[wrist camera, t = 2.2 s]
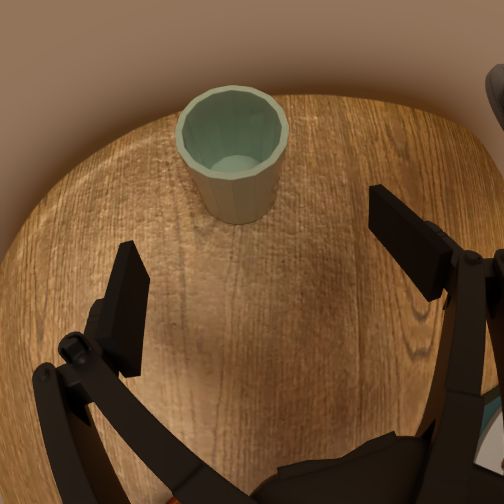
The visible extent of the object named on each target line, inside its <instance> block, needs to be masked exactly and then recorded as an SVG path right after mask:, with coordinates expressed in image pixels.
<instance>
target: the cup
mask: <svg viewBox="0 0 504 504" xmlns="http://www.w3.org/2000/svg"><path fill="white" fill-rule="evenodd" d="M288 133H289V124H288V122H287V119H286V116H285V113H284V110H283V109H282V108H281V107H280V106H279V104H278V103H277V102H276V101H275V100H274V99H273V98H272V97H271V96H269V95H267V94H265V93H263V92H261V91H259V90H257V89H254V88H251V87H244V86H235V85H231V86H230V85H229V86H224V87H219V88H214V89H211V90H209V91H207V92H205V93H203V94H202V95H200V96H198V97H196V98H194V99H193V100H192V101H191V102H190V103H189V105H188V106H187V107H186V108H185V109H184V110H183V112H182V113H181V114H180V116H179V120H178V123H177V126H176V129H175V139H176V146H177V151H178V153H179V155H180V157H181V159H182V161H183V164H184V166H185V168H186V170H187V172H188V174H189V176H190V178H191V181H192V183H193V185H194V187H195V189H196V191H197V193H198V195H199V197H200V199H201V202H202V203H203V204H204V206H205V208H206V209H207V210H208V212H209V213H210V214H211V215H212V216H214V217H215V218H217V219H218V220H220V221H223V222H225V223H229V224H246V223H250V222H253V221H255V220H257V219H259V218H261V217H262V216H263V215H264V214H266V212H267V211H268V210H269V209H270V208H271V206H272V204H273V203H274V200H275V199H276V195H277V190H278V185H279V180H280V176H281V171H282V166H283V161H284V157H285V152H286V147H287V141H288Z"/></svg>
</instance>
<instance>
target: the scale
mask: <svg viewBox="0 0 504 504" xmlns="http://www.w3.org/2000/svg"><path fill="white" fill-rule="evenodd" d="M482 397H484V399H485V406H484V413H483V419H482V425H481V430H480V435H479V440H478V445H477V450H476V454H475V458H474V463H476V464H478V465H480V466H483V467H485V468H487V469H490V470H492V471H494V472H497V473H499V474H501V475H503V473H504V471H503V470H502V468H501V462H502V460H503V459H504V428H503V416H502V406H501V397H500V389H499V385H498V386H497V387H495V388H494V389H492V390H491V391H489V392H487V393H486V394H484V395H483V396H482Z"/></svg>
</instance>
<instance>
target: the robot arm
mask: <svg viewBox="0 0 504 504" xmlns="http://www.w3.org/2000/svg"><path fill="white" fill-rule="evenodd" d="M368 228H369V229H370V231H371V232H372V233H373V234H374V235H375V236H376V238H377V239H378V240H379V241H380V242H381V243H382V245H383V246H384V247H385V248H386V249H387V251H388V252H389V253H390V254H391V255H392V257H393V258H394V259H395V260H396V262H397V263H398V264H399V265H400V266H401V268H402V269H403V270H404V271H405V273H406V274H407V275H408V277H409V278H410V279H411V280H412V282H413V283H414V284H415V285H416V287H417V288H418V289H419V291H420V292H421V293H422V295H423V296H424V297H425V299H426V300H427V301H428V302H430V301H433V300H435V299H438V298H440V297H441V295H442V291H443V288H444V289H445V290H446V291H447V292H448V294H447V298H446V301H445V304H444V307H443V309H442V310H445V312H444V320H443V327H442V333H441V339H440V345H439V351H438V356H437V361H436V366H435V371H434V375H433V380H432V384H431V388H430V392H429V396H428V400H427V404H426V408H425V411H424V415H423V418H422V421H421V424H420V426H419V428H418V430H417V433H416V435H415V437H414V436H396V434H395V431H392V432H390V433H387V434H385V435H382V436H380V437H377V438H374V439H372V440H369V441H367V442H365V443H364V444H362V445H361V446H359V447H358V448H356V449H355V450H353V451H351V452H350V453H348V454H347V455H345V456H343V457H341V458H337V459H323V460H306V461H302V462H298V463H294V464H290V465H286V466H282V467H277V471H278V473H277V474H275V475H273V476H271V477H269V478H268V479H266V480H265V481H263V482H262V483H261V484H260V485H259V486H258V487H257V488H256V489H255V490H254V491H253V492H252V493H251V495H250V496H248V495H246V494H245V493H244V492H242V491H241V490H240V489H238V488H237V487H235V486H234V485H233V484H231V483H230V482H229V481H228V480H226V479H225V478H224V477H222V476H221V475H220V474H219V473H217V472H216V471H215V470H214V469H212V468H211V467H210V466H209V465H207V464H206V463H205V462H204V461H202V460H201V459H200V458H199V457H198V456H196V455H195V454H194V453H193V452H192V451H191V450H190V449H188V448H187V447H186V446H185V445H184V444H183V443H182V442H181V441H179V440H178V439H177V438H176V437H175V436H174V435H173V434H172V433H171V432H170V431H169V430H168V429H167V428H166V427H165V426H164V425H162V424H161V423H160V422H159V421H158V420H157V419H156V418H155V417H154V416H153V415H152V414H151V413H150V412H149V411H148V410H147V409H146V408H145V407H144V405H143V404H142V403H141V402H140V401H139V400H138V399H137V398H136V397H135V396H134V395H133V394H132V393H131V392H130V391H129V389H128V388H127V387H126V386H125V385H124V384H123V383H122V382H121V381H120V379H119V378H118V377H119V371H120V372H121V374H122V375H123V376H124V377H125V378H129V377H136V376H141V362H142V350H143V338H144V328H145V318H146V309H147V301H148V292H149V285H150V278H149V275H148V273H147V271H146V269H145V267H144V264H143V262H142V260H141V258H140V255H139V253H138V251H137V248H136V246H135V244H134V241H133V240H131V241H127V242H123V243H120V245H119V249H118V252H117V255H116V258H115V261H114V265H113V268H112V272H111V275H110V278H109V282H108V286H107V289H106V293H105V297H104V298H102V299H97V300H96V301H95V302H94V304H93V305H92V307H91V309H90V312H89V316H88V317H89V318H88V319H87V324H86V327H85V330H84V334H82V333H80V332H76V331H75V332H71V333H69V334H68V335H66V336H65V337H64V338H63V339H62V340H61V342H60V343H59V346H58V352H59V354H60V356H61V357H62V358H63V359H64V360H65V361H66V362H67V363H66V364H63V365H61V366H59V367H57V368H56V367H55V366H54V365H53V364H51V363H49V362H45V363H43V364H41V365H40V366H38V367H37V368H36V370H35V371H34V373H33V376H32V382H33V389H34V395H35V401H36V407H37V412H38V417H39V422H40V427H41V431H42V435H43V440H44V444H45V448H46V451H47V455H48V459H49V462H50V466H51V469H52V472H53V476H54V479H55V482H56V485H57V488H58V491H59V494H60V496H61V499H62V502H63V504H131V503H130V501H129V499H128V497H127V495H126V493H125V491H124V490H123V488H122V486H121V484H120V481H119V479H118V477H117V475H116V473H115V471H114V469H113V467H112V464H111V462H110V460H109V458H108V455H107V453H106V451H105V448H104V446H103V444H102V441H101V439H100V436H99V434H98V431H97V429H96V426H95V423H94V421H93V418H92V415H91V412H90V410H89V407H88V404H90V403H92V402H95V404H96V405H97V407H98V408H99V409H100V411H101V412H102V413H103V415H104V416H105V417H106V418H107V420H108V421H109V422H110V424H111V425H112V426H113V427H114V429H115V430H116V431H117V432H118V434H119V435H120V436H121V437H122V438H123V440H124V441H125V442H126V443H127V444H128V445H129V447H130V448H131V449H132V450H133V451H134V452H135V453H136V455H137V456H138V457H139V458H140V459H141V460H142V461H143V462H144V463H145V464H146V466H147V467H148V468H149V469H150V470H151V471H152V472H153V473H154V474H155V475H156V476H157V477H158V478H159V479H160V480H161V481H162V482H163V483H164V484H165V485H166V486H167V487H168V488H169V489H170V490H171V492H172V495H173V496H174V497H175V498H176V499H177V500H178V501H179V502H180V503H181V504H504V473H503V475H501V474H499V473H497V472H494V471H492V470H490V469H487V468H485V467H483V466H480V465H478V464H476V463H474V458H475V454H476V450H477V445H478V440H479V435H480V430H481V425H482V419H483V413H484V406H485V399H484V397H482V396H481V385H482V376H483V366H484V353H485V334H486V320H487V324H488V329H489V333H490V338H491V342H492V347H493V352H494V357H495V363H496V369H497V375H498V382H499V389H500V397H501V406H502V416H503V428H504V249H498V250H497V251H496V252H495V255H494V258H485V259H483V258H482V257H481V255H479V254H478V253H476V252H474V251H471V250H465V251H464V250H463V249H462V248H461V247H460V246H459V245H458V244H457V243H456V242H455V241H454V240H452V239H451V238H450V237H449V236H448V235H447V234H446V233H445V232H443V230H442V229H441V228H440V227H439V226H437V225H436V224H434V223H432V222H430V221H423V220H422V219H421V218H420V217H419V216H417V215H416V214H415V213H414V212H413V211H412V210H411V209H410V208H408V207H407V206H406V205H405V204H404V203H403V202H402V201H400V200H399V199H398V198H397V197H396V196H395V195H393V194H392V193H391V192H390V191H389V190H387V189H386V188H385V187H384V186H383V185H381V184H379V185H374V186H369V222H368ZM501 468H502V470H503V471H504V459H503V460H502V462H501Z"/></svg>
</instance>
